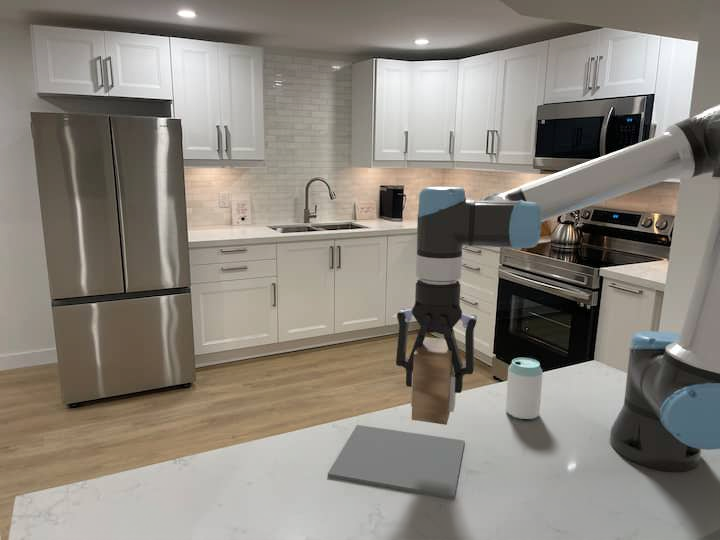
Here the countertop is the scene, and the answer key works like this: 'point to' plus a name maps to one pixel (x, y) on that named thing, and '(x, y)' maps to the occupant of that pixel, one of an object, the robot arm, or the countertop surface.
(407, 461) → the mat
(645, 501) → the countertop surface
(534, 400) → the can
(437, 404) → the walnut block
